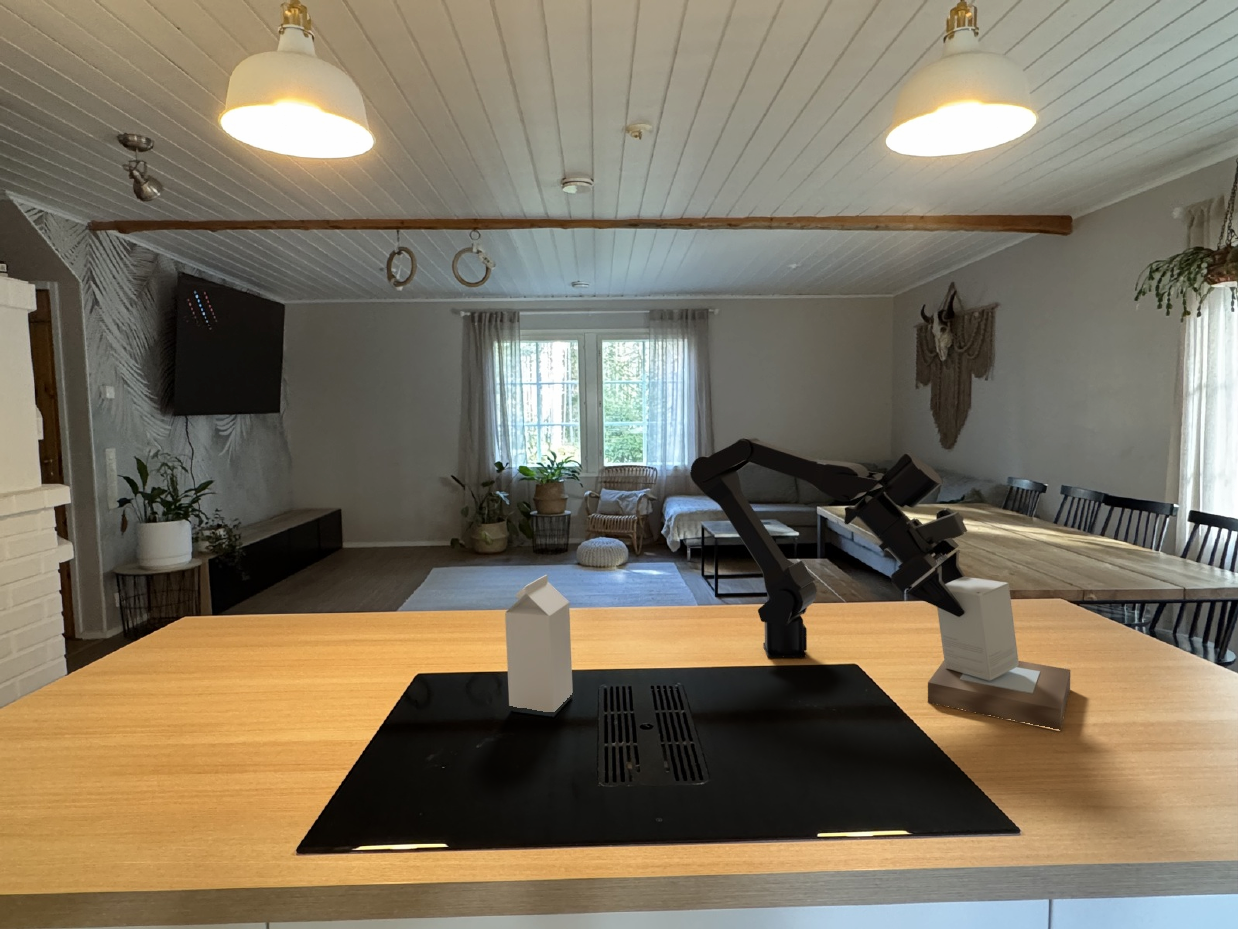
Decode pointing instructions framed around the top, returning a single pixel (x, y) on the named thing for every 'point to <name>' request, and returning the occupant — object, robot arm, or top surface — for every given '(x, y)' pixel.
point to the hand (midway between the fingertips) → (968, 607)
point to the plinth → (1006, 693)
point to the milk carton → (539, 648)
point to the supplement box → (979, 629)
